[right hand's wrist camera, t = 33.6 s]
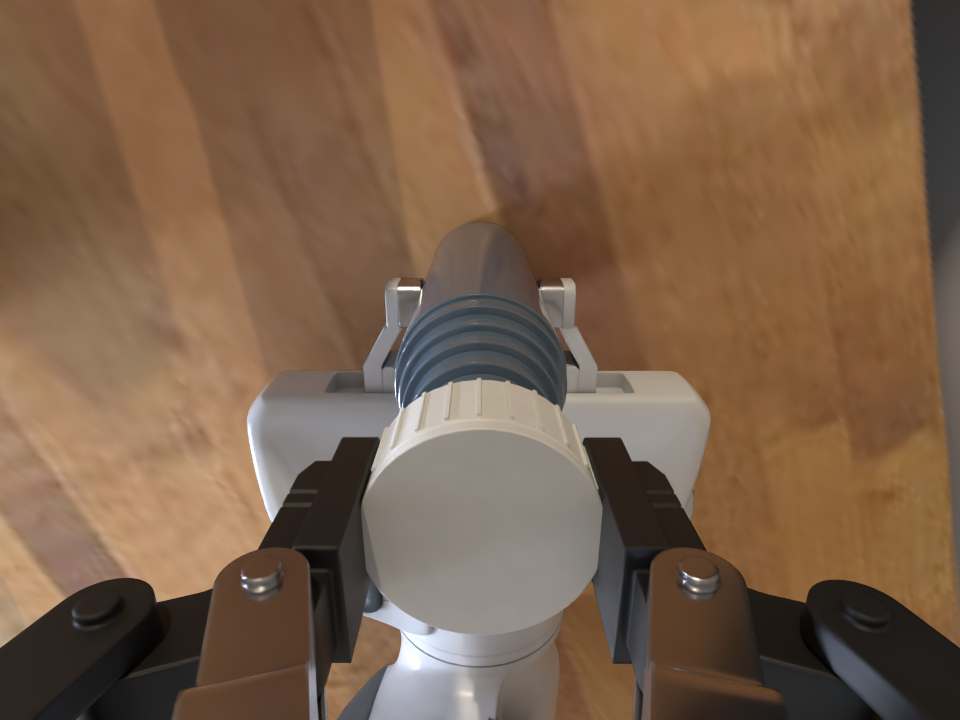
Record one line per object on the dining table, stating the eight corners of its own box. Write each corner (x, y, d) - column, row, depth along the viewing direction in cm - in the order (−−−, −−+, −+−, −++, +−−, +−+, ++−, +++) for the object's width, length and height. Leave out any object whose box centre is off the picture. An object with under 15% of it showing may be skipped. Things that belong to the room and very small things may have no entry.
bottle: (413, 276, 31) (296, 524, 11) (473, 201, 29) (461, 331, 10) (486, 334, 32) (497, 651, 12) (548, 263, 31) (670, 493, 11)
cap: (506, 593, 13) (510, 673, 11) (334, 498, 12) (306, 565, 10) (633, 451, 12) (663, 513, 10) (451, 332, 11) (445, 375, 9)
